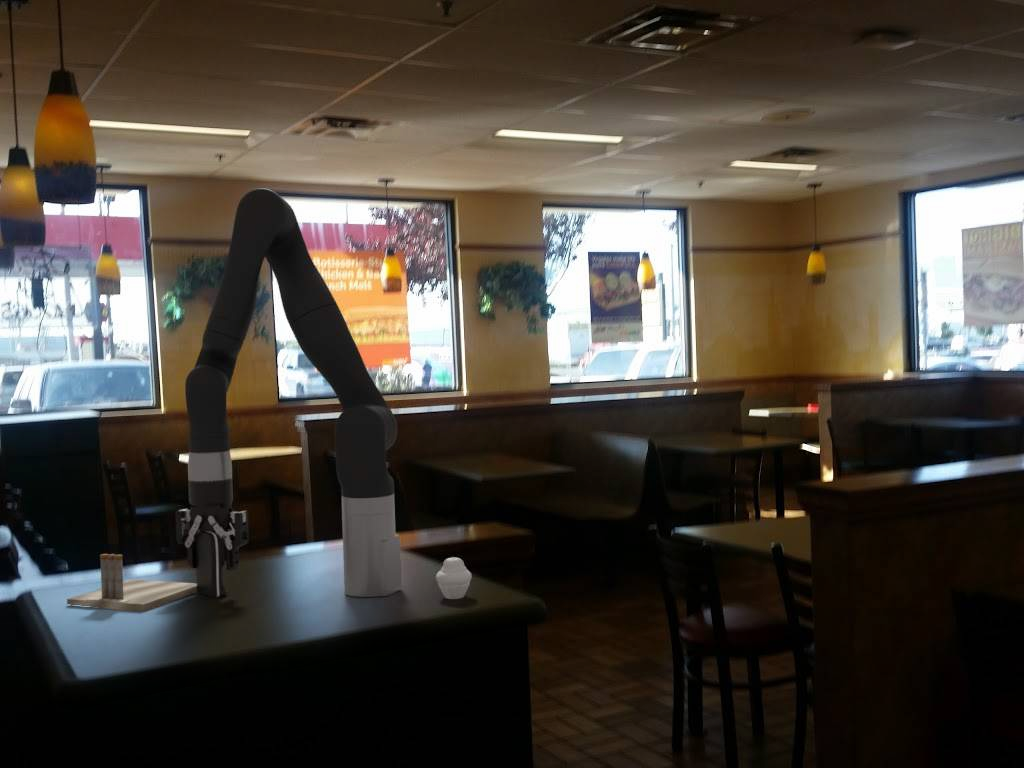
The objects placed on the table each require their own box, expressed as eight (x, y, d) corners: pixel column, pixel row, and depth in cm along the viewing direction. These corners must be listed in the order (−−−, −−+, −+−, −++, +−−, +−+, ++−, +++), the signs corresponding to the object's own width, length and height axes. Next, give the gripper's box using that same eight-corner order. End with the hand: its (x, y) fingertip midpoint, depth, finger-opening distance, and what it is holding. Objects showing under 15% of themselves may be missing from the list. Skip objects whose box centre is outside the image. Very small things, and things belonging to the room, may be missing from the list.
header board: (202, 590, 189) (201, 542, 188) (143, 611, 173) (141, 559, 173) (130, 585, 194) (129, 538, 194) (67, 606, 179) (65, 555, 179)
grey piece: (467, 601, 174) (466, 560, 174) (432, 601, 176) (430, 559, 176) (476, 593, 181) (474, 553, 180) (441, 592, 182) (440, 552, 182)
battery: (234, 595, 184) (231, 530, 184) (214, 599, 181) (211, 533, 181) (215, 589, 189) (213, 526, 189) (195, 593, 187) (193, 529, 186)
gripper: (256, 475, 186) (259, 566, 186) (190, 473, 191) (192, 562, 191) (232, 480, 179) (234, 575, 179) (163, 478, 184) (166, 571, 184)
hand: (213, 568), depth 185 cm, fingers closed on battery, 7 cm apart
